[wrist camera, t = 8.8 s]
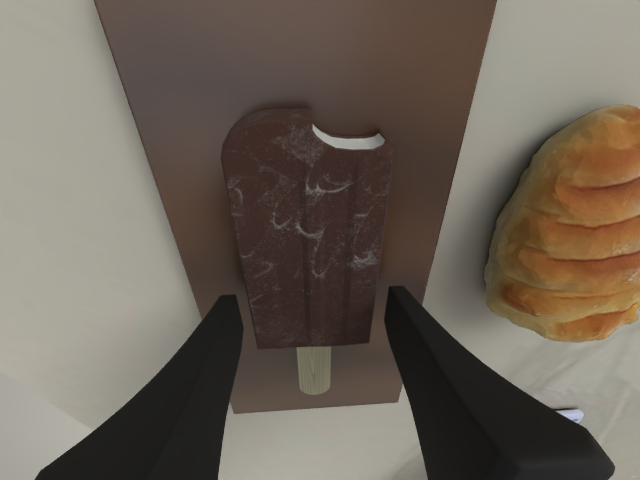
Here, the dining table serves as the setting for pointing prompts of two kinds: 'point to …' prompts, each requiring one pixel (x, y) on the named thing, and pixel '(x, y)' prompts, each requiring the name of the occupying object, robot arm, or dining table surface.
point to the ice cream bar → (307, 232)
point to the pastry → (573, 233)
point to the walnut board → (328, 115)
